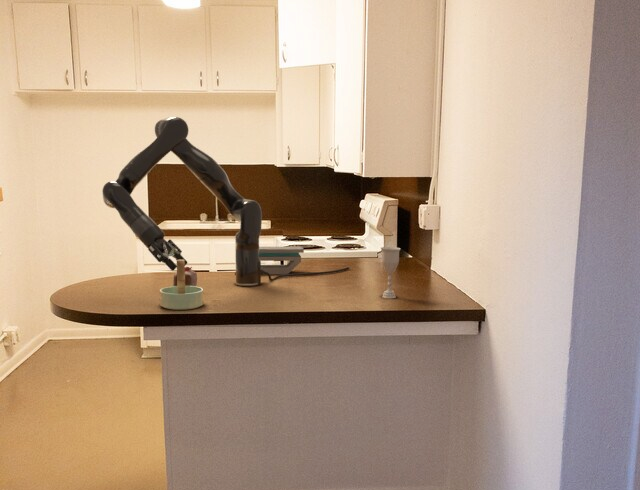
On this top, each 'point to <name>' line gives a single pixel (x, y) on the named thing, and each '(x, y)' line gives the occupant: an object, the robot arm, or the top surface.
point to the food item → (188, 277)
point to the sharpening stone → (280, 258)
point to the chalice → (390, 266)
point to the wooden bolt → (180, 276)
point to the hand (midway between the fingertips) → (180, 266)
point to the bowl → (181, 298)
